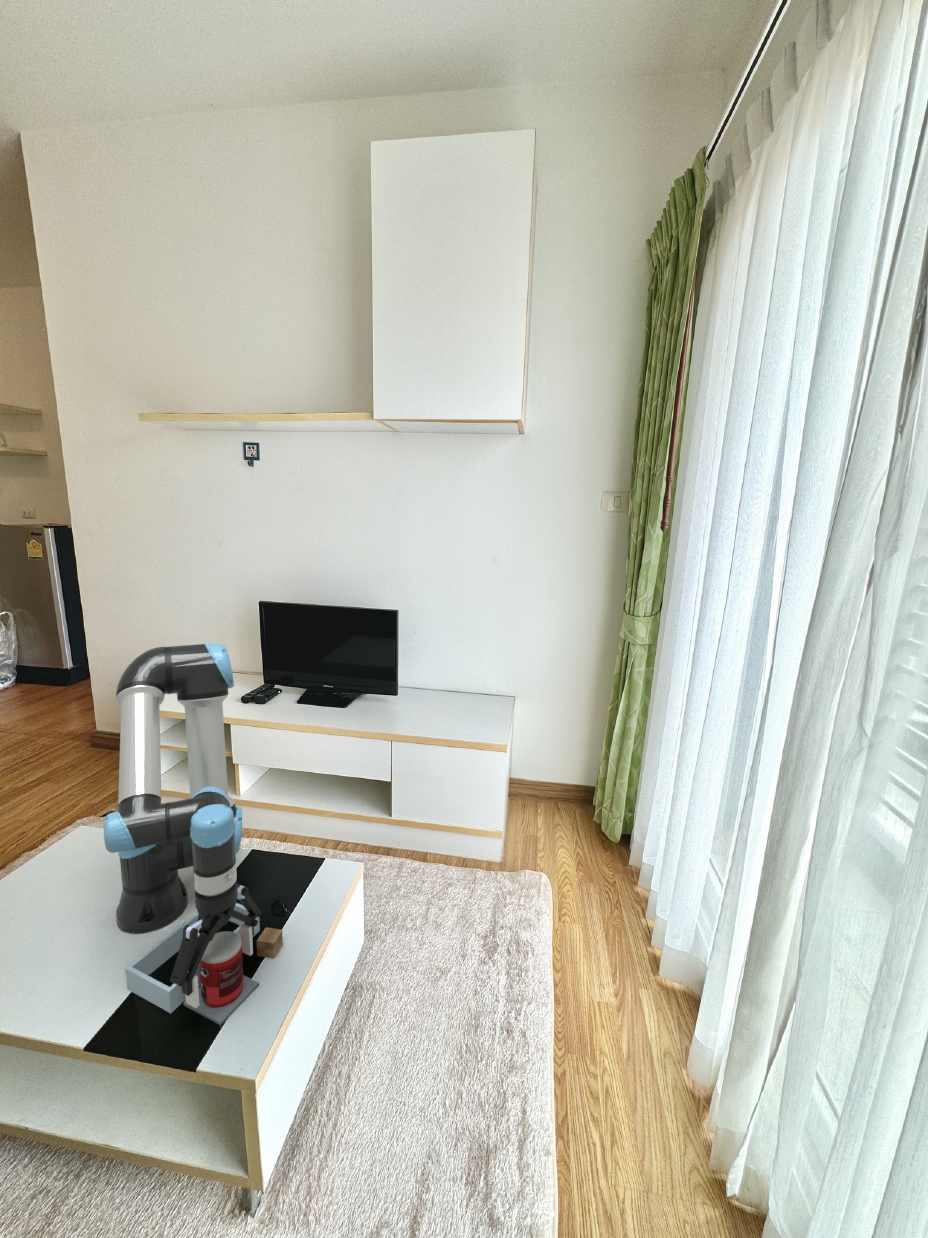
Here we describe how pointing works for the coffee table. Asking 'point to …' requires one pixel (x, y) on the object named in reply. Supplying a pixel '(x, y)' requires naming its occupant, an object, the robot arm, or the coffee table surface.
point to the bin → (156, 957)
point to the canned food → (222, 969)
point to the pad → (224, 1012)
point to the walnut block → (269, 943)
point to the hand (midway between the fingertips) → (221, 977)
